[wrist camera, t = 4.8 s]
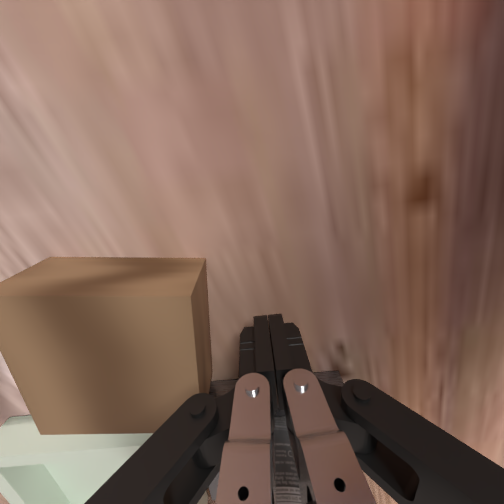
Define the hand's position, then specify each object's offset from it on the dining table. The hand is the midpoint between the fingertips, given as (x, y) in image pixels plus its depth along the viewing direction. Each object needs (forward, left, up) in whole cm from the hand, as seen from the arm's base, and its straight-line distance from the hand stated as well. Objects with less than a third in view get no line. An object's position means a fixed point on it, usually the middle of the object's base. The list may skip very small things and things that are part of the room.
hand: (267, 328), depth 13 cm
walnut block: (+7, 0, -2) cm, 7 cm away
